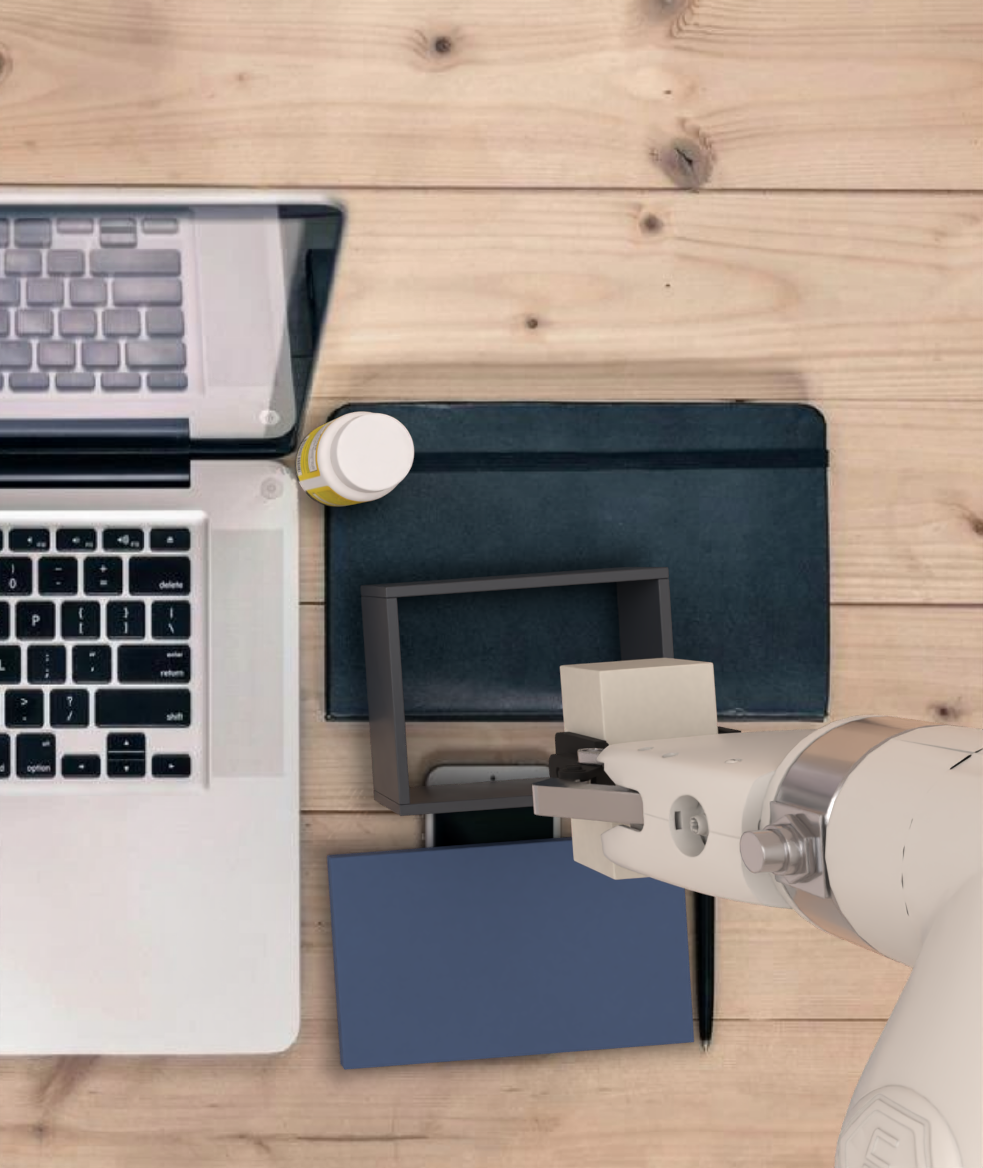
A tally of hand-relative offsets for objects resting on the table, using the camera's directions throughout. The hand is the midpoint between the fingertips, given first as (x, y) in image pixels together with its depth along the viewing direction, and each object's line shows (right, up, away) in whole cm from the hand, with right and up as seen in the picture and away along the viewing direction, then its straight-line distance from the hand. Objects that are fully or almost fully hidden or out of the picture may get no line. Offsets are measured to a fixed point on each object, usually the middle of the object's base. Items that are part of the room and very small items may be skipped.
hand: (627, 761), depth 60 cm
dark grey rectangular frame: (0, +2, +16) cm, 16 cm away
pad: (0, -13, +16) cm, 20 cm away
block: (0, 0, +1) cm, 1 cm away
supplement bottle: (-10, +15, +16) cm, 24 cm away
